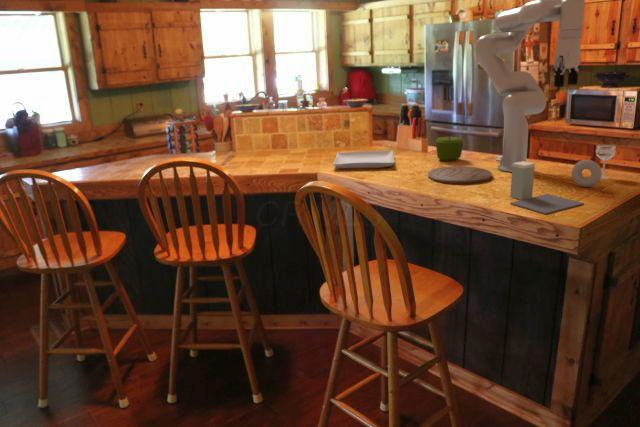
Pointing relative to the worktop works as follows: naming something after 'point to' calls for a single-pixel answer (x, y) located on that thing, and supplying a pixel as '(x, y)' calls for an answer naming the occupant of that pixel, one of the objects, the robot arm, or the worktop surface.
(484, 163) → the worktop surface
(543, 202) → the charcoal mat
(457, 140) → the green bell pepper
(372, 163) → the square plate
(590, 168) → the donut
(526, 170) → the sage block
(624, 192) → the worktop surface
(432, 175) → the trivet
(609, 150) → the wineglass
